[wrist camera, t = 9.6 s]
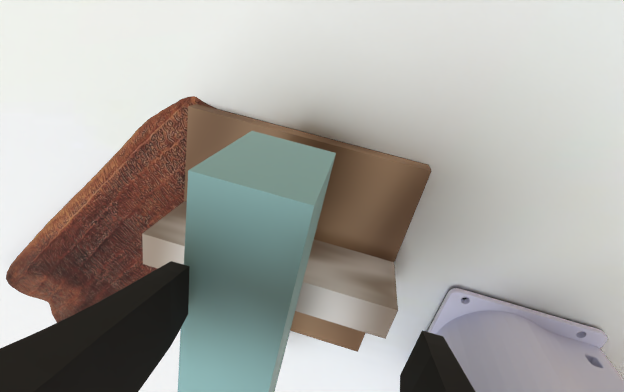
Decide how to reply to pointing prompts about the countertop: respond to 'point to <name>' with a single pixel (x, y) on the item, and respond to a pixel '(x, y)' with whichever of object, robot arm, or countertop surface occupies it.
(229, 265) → the teal rectangular bar
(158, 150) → the wooden tablet
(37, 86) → the countertop surface
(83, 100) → the countertop surface
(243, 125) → the ridge
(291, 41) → the countertop surface
